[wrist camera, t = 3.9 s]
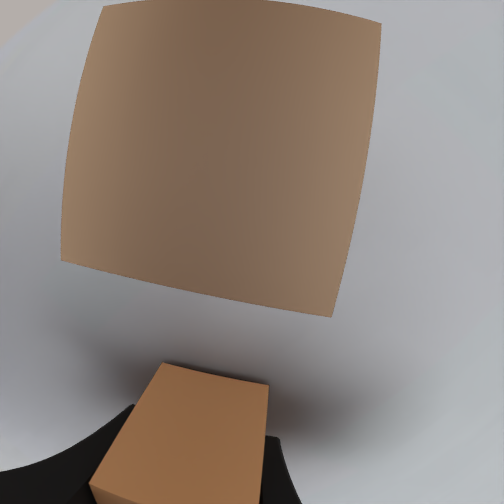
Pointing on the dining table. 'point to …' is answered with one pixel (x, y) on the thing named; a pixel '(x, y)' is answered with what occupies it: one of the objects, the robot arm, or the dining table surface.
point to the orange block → (188, 443)
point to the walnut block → (222, 148)
